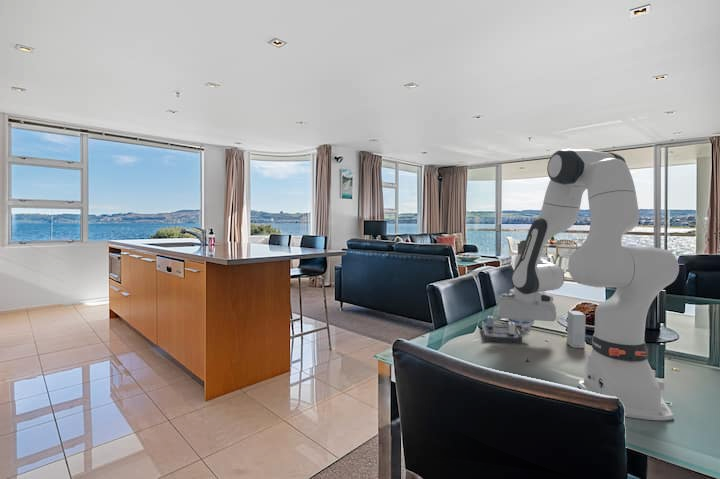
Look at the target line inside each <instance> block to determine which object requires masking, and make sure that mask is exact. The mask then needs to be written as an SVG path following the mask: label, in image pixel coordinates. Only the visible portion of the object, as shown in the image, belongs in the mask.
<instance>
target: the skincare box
mask: <svg viewBox="0 0 720 479" xmlns="http://www.w3.org/2000/svg"><path fill="white" fill-rule="evenodd" d="M586 316H587V315H586V314H584V313H582V312H581V311H580V310H567V326H566V329H567V330H566V343H567V344H568V345H569V346H570V347H571V348H574V349H575V348H578V349H579V348H580V349H585V347H586V345H585V344H586V321H587V320H586V319H587V318H586Z"/></svg>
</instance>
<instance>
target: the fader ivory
mask: <svg viewBox="0 0 720 479" xmlns="http://www.w3.org/2000/svg"><path fill="white" fill-rule="evenodd" d="M507 324H508V332H509V334H515V324H514V322H507Z"/></svg>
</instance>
